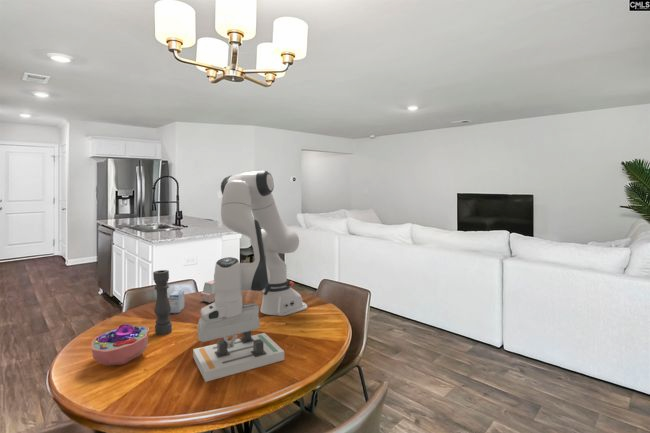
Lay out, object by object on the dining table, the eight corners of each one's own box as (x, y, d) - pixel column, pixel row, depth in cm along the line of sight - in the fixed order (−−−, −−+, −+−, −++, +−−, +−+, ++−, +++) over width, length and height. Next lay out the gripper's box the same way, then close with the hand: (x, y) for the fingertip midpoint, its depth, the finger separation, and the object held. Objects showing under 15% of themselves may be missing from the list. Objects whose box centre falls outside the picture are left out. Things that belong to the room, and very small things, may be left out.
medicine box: (175, 307, 172) (174, 290, 171) (184, 307, 172) (184, 290, 172) (169, 313, 164) (169, 295, 163) (179, 313, 165) (178, 295, 164)
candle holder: (165, 336, 139) (162, 273, 137) (151, 334, 140) (148, 273, 138) (175, 329, 145) (172, 270, 143) (161, 328, 146) (159, 269, 144)
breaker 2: (261, 349, 120) (261, 337, 119) (266, 353, 116) (266, 342, 116) (250, 352, 118) (250, 340, 117) (254, 356, 114) (254, 345, 114)
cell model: (76, 375, 110) (73, 340, 109) (116, 346, 130) (115, 316, 129) (128, 376, 109) (126, 341, 108) (161, 347, 129) (160, 317, 128)
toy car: (234, 297, 188) (234, 279, 188) (210, 305, 176) (210, 285, 175) (223, 294, 194) (222, 276, 193) (199, 301, 181) (198, 282, 180)
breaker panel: (264, 340, 134) (264, 332, 134) (284, 359, 119) (284, 351, 119) (193, 357, 121) (193, 349, 120) (205, 381, 105) (204, 372, 105)
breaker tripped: (226, 349, 119) (226, 338, 119) (229, 354, 116) (229, 342, 116) (214, 352, 117) (214, 341, 117) (217, 357, 114) (217, 345, 114)
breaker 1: (250, 336, 130) (249, 326, 130) (253, 340, 127) (253, 329, 126) (239, 339, 128) (239, 328, 128) (243, 343, 124) (242, 332, 124)
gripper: (255, 299, 125) (256, 336, 126) (195, 310, 114) (197, 351, 115) (262, 304, 119) (263, 343, 121) (199, 316, 109) (201, 359, 110)
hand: (230, 347), depth 118 cm, fingers closed
